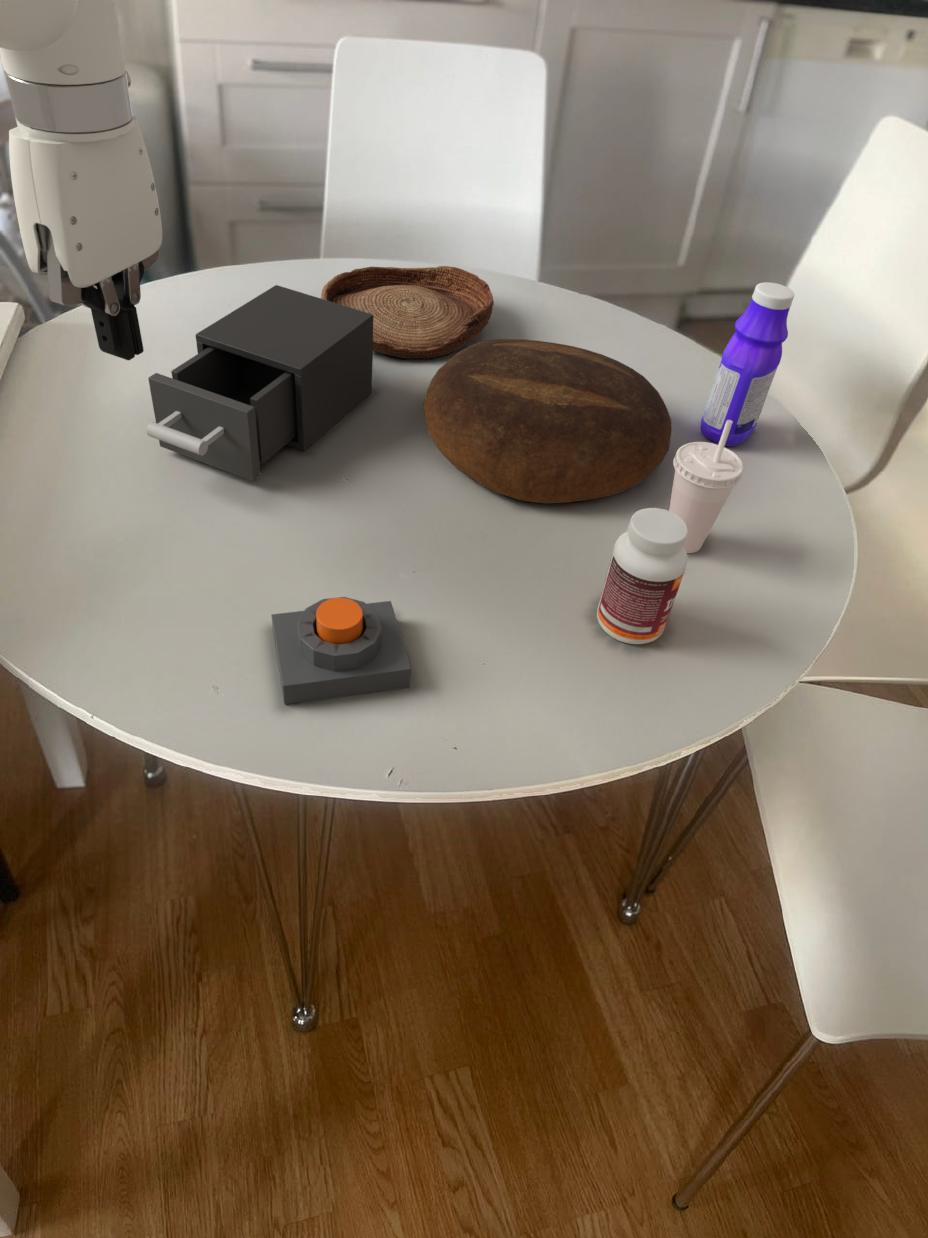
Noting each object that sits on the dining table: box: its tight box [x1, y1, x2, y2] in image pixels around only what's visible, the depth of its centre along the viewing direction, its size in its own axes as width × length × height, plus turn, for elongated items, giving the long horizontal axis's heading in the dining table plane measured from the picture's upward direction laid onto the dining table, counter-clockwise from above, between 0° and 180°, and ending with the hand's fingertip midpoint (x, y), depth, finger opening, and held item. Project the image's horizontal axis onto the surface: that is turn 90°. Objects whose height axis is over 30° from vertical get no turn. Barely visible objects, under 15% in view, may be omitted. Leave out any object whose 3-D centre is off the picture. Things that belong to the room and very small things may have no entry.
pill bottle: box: [596, 507, 688, 645], centre depth 75 cm, size 6×6×11 cm
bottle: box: [700, 281, 795, 447], centre depth 98 cm, size 7×6×17 cm
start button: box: [316, 597, 363, 645], centre depth 70 cm, size 4×4×2 cm
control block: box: [271, 596, 412, 705], centre depth 71 cm, size 10×8×4 cm
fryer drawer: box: [146, 346, 298, 482], centre depth 89 cm, size 18×11×8 cm, turn 155°
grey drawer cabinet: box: [195, 284, 374, 452], centre depth 97 cm, size 15×13×10 cm
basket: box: [320, 265, 495, 360], centre depth 115 cm, size 22×20×5 cm
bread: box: [423, 338, 673, 504], centre depth 97 cm, size 28×27×9 cm
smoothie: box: [668, 420, 745, 554], centre depth 84 cm, size 6×6×14 cm
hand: (122, 351), depth 72 cm, fingers closed
